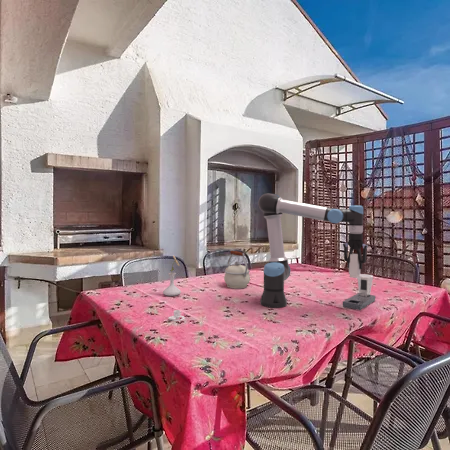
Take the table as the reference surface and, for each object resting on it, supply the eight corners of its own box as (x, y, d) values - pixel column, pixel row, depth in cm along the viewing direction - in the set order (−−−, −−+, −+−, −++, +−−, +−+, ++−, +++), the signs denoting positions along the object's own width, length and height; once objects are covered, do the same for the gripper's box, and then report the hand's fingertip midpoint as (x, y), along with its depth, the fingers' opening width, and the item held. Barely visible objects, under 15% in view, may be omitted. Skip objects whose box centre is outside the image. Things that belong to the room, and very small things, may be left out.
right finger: (356, 278, 187) (357, 255, 186) (349, 277, 189) (350, 254, 189) (359, 276, 190) (360, 254, 190) (352, 275, 193) (353, 253, 192)
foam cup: (360, 292, 222) (361, 273, 222) (374, 295, 216) (375, 275, 215) (354, 295, 215) (354, 275, 215) (368, 298, 209) (369, 277, 208)
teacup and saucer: (169, 322, 163) (169, 314, 163) (165, 317, 170) (165, 309, 170) (186, 320, 167) (186, 312, 166) (182, 315, 174) (182, 307, 174)
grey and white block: (342, 306, 190) (343, 282, 190) (358, 297, 210) (359, 275, 209) (360, 310, 184) (361, 285, 183) (375, 300, 204) (375, 277, 203)
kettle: (256, 287, 235) (257, 252, 233) (235, 291, 224) (236, 254, 223) (235, 281, 255) (236, 248, 254) (215, 284, 245) (215, 250, 244)
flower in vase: (177, 297, 207) (177, 257, 206) (160, 296, 209) (159, 256, 208) (184, 292, 220) (184, 254, 219) (167, 291, 222) (167, 254, 221)
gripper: (338, 232, 191) (337, 273, 192) (369, 234, 180) (368, 277, 181) (343, 231, 197) (342, 271, 198) (373, 233, 186) (372, 275, 187)
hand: (354, 274), depth 189 cm, fingers closed on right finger, 4 cm apart
